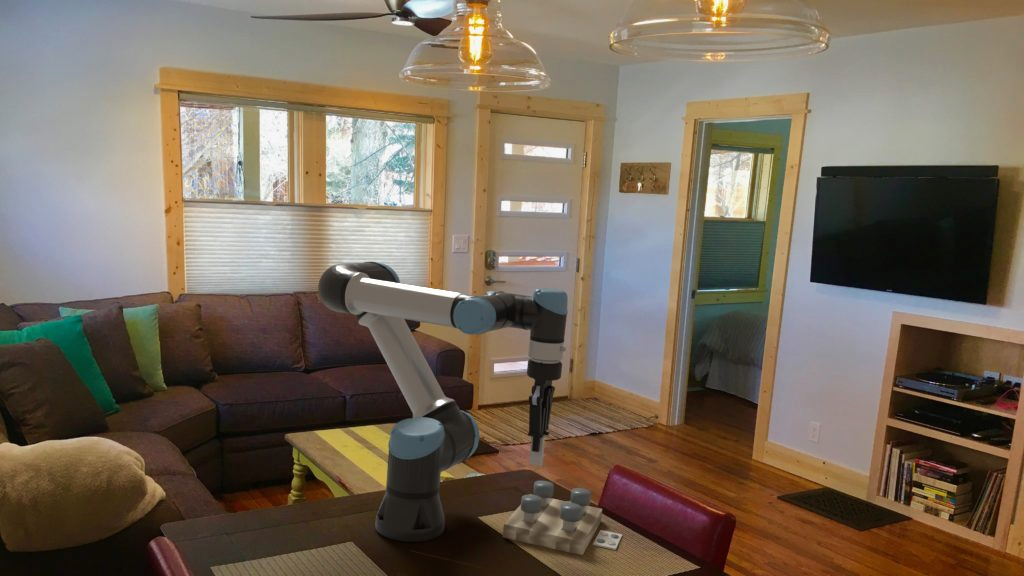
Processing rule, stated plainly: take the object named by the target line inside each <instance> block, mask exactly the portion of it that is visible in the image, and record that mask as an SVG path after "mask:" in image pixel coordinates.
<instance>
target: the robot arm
mask: <svg viewBox="0 0 1024 576" xmlns="http://www.w3.org/2000/svg"><path fill="white" fill-rule="evenodd" d="M317 289H318V290H317V291H318V296H319V299H320V301H321V302H322V304H323V305H324V306H325V307H327V308H328V309H329V310H331V311H333V312H335V313H342V314H343V313H344V314H349V315H350V314H351V315H354V316H355V319H356V320H357V322H358V324H359V325H360V326H363V327H366V328H368V329H369V332H370V334H371V335H372V338H373V339H374V342H375V343H376V345H377V347H378V349H379V351H380V353H381V355H382V356H383V358H384V360H385V362H386V364H387V366H388V368H389V370H390V371H391V374H392V376H393V377H394V380H395V381H396V384H397V385H398V388H399V389H400V391H401V393H402V395H403V397H404V399H405V400H406V403H407V405H408V406H409V408H410V412H412V417H410V418H405V419H402V420H400V421H398V422H396V423H395V424H394V425H393V427H392V428H391V431H390V434H389V435H390V436H389V440H388V445H387V447H388V453H387V455H388V456H387V457H388V458H387V468H386V469H387V471H386V483H385V487H386V488H385V493H384V496H383V498H382V500H381V503H380V505H379V508H378V510H377V513H376V516H375V525H374V529H375V531H377V533H378V534H380V535H381V536H383V537H385V538H388V539H390V540H392V541H398V542H408V543H416V542H424V541H425V542H426V541H429V540H433V539H435V538H437V537H439V536H441V535H442V534H443V532H444V531H445V524H446V523H445V522H446V521H445V518H446V517H445V514H444V510H443V506H442V503H441V499H440V485H441V474H442V473H443V472H445V471H447V470H448V469H451V468H453V467H454V466H456V465H459V464H461V463H463V462H465V461H467V459H468V458H470V457H471V456H472V455H473V454H474V453H475V452H476V450H477V448H478V445H479V442H480V428H479V424H478V423H477V421H476V420H475V418H474V417H473V416H472V415H471V414H470V413H469V412H466V411H464V410H460V407H459V406H458V404H457V402H456V400H455V399H453V398H450V397H447V396H446V395H445V393H444V391H443V390H442V388H441V385H440V384H439V382H438V380H437V379H436V377H435V375H434V373H433V370H432V368H431V366H430V365H429V364H428V362H427V359H426V358H425V356H424V354H423V352H422V350H421V348H420V346H419V344H418V342H417V340H416V339H415V336H414V335H413V333H412V331H411V329H410V327H409V325H408V323H407V322H406V320H410V321H414V322H419V323H420V322H421V323H425V324H430V325H436V326H443V327H447V328H454V329H458V330H459V331H460V332H462V333H463V334H466V335H469V336H470V335H471V336H472V335H483V334H485V333H489V332H492V331H496V330H501V329H506V328H513V329H520V330H526V331H530V332H529V335H530V336H529V344H528V357H529V359H528V361H527V366H526V367H527V368H526V375H527V377H529V378H531V379H533V380H534V384H533V385H532V387H531V394H530V395H528V403H529V406H528V407H529V410H528V411H529V417H528V418H529V419H528V421H529V422H528V423H529V424H528V433H527V436H528V437H531V439H530V448H529V449H530V450H529V460H528V464H529V465H531V466H536V467H542V465H543V464H544V452H545V442H546V441H545V440H546V436H550V432H549V431H548V430H549V428H550V427H549V425H550V418H551V412H552V405H553V398H554V394H555V390H556V387H555V386H554V385H553V381H558V380H560V379H561V378H562V370H563V369H562V368H563V362H562V360H563V357H564V352H566V351H567V349H566V346H564V344H565V336H566V335H565V334H566V325H567V319H568V318H567V317H568V298H569V297H568V294H567V292H565V291H564V290H563V289H562V290H561V289H557V288H556V289H555V288H545V287H539V288H535V289H534V291H533V295H525V294H516V293H511V292H505V291H501V290H499V291H496V290H495V291H494V290H490V291H486V293H485V294H483V296H482V295H475V294H474V295H473V294H468V293H461V292H455V291H450V290H443V289H437V288H431V287H425V286H418V285H414V284H413V285H412V284H407V283H401V280H400V277H399V275H398V273H396V271H395V270H394V269H393V268H392V267H390V266H389V265H388V264H385V263H383V262H377V261H365V262H339V263H337V264H334V265H331V266H330V267H328V268H327V269H326V270H325V271H323V273H322V274H321V276H320V277H319V280H318V285H317Z"/></svg>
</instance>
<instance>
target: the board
mask: <svg viewBox="0 0 1024 576" xmlns="http://www.w3.org/2000/svg"><path fill="white" fill-rule="evenodd" d="M528 495H534V494H531V493H529V494H528ZM563 503H571V502H570V501H565V500H561V499H557V498H556V499H555V498H553V497H551V498H549V501H548V507H547V508H543V507H542V508H541V512H539V513H537V520H536V523H535V524H532V523H528V522H523V518H524V511H522V510H521V504H520V505H519V506H518V507H517V508H516V509H515V511H514V512H513V513H512V514H511V515H509V517H508V518H507V520H506V521H505V522H504V523H503V529H502V538H504V539H509V540H513V541H518V542H523V543H526V544H531V545H536V546H540V547H544V548H549V549H552V550H557V551H562V552H566V553H571V554H575V555H580V556H584V554H585V553H586V550H587V549H588V546H589V544H590V543H591V541H592V539H593V537H594V535H595V533H596V531H597V529H598V527H599V526H600V524H601V522H602V518H603V517H602V516H603V508H601V507H594V506H590V505H588V506H586V510H585V515H584V516H581V519H580V521H578V522H576V529H575V532H569V531H564V530H562V529H563V520H562V519H561V518H560V508H561V504H563Z"/></svg>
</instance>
